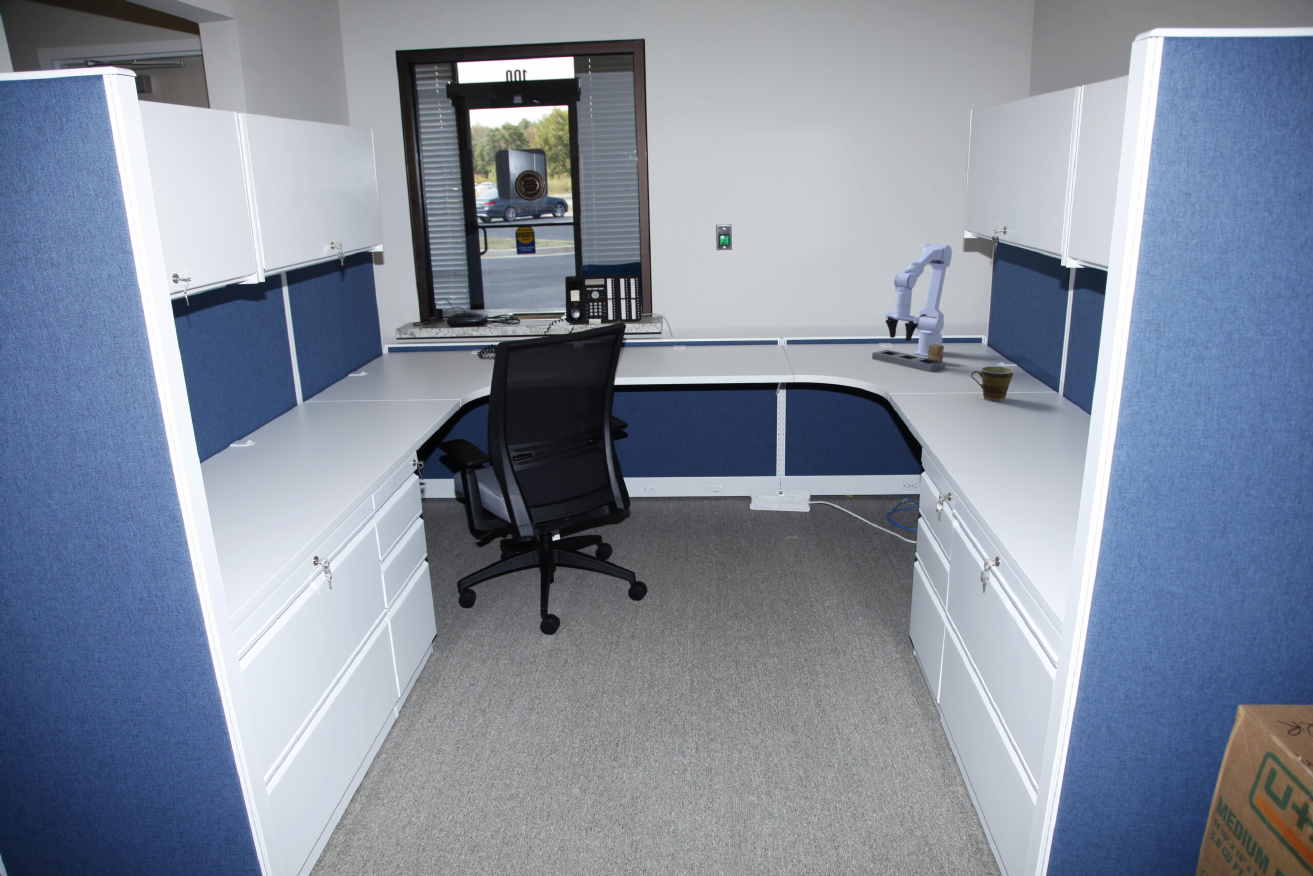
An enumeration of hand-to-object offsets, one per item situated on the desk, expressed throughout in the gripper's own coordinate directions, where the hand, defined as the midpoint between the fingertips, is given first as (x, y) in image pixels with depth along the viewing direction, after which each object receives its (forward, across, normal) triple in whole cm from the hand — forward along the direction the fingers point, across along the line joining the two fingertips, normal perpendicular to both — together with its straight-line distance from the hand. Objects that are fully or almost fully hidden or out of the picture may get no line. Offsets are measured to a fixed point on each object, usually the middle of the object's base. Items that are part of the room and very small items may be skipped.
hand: (900, 338), depth 330 cm
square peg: (+10, +8, +12) cm, 17 cm away
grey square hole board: (+10, +2, +3) cm, 10 cm away
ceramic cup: (+10, +52, -17) cm, 55 cm away
